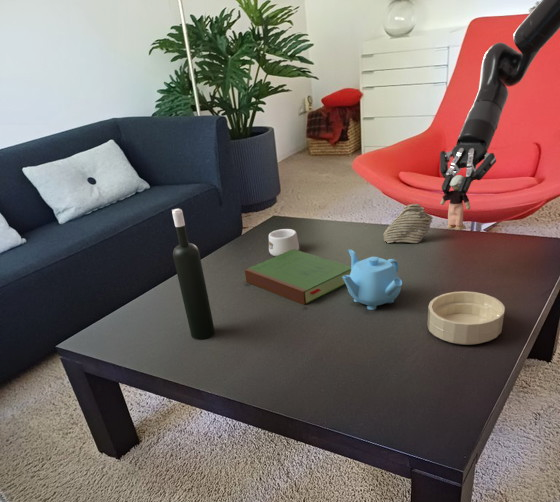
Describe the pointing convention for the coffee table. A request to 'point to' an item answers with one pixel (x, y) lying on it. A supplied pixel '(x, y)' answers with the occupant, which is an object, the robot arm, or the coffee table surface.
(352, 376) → the coffee table surface
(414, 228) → the fossil tooth
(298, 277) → the hardcover book
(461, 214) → the grandmother figurine
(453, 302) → the bowl
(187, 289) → the wine bottle
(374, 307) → the teapot
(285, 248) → the mug
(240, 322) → the coffee table surface
